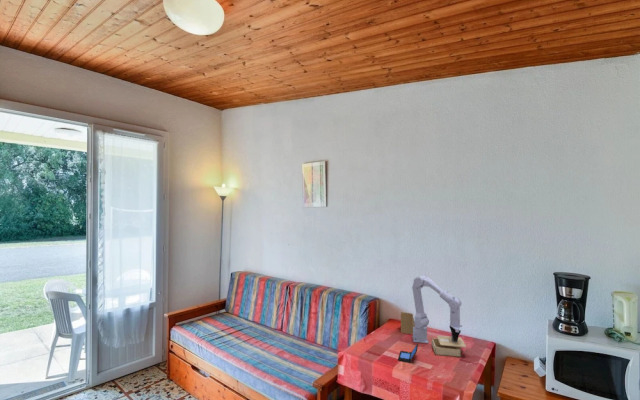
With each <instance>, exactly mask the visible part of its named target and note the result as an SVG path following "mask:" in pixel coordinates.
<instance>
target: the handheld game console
mask: <svg viewBox="0 0 640 400" xmlns="http://www.w3.org/2000/svg"><path fill="white" fill-rule="evenodd" d="M418 347H419V344H418V343H417V344H416V345H415V346H414V348H413V349H412V351H406V350H400V351H399V355H398V359H397V360H398V361H399V362H402V363H403V362H404V363H407V364H411V363H412V360H413V358H414V357H415V356H416V355H417V352H418Z"/></svg>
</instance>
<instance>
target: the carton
mask: <svg viewBox="0 0 640 400" xmlns="http://www.w3.org/2000/svg"><path fill="white" fill-rule="evenodd" d="M431 347H432V350H433V352H434V355H435V356H446V357H453V358H454V357H457V358H461V357H462V349H461V347H454V346H444V345H440V343H439V340H438V338H435V337H433V338H431Z"/></svg>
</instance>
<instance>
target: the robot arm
mask: <svg viewBox="0 0 640 400" xmlns="http://www.w3.org/2000/svg"><path fill="white" fill-rule="evenodd" d="M424 287H427V288H428V287H429V288H430V289H432V290H433V291H434V292H436V293H437V294H438V295H439V298H440V299H442V300H443V301H444V302H445V303H446V304H448V307H449V326H448V327H449V329H450V332H451V335H453V340H454V341H457V340H458V337H460V334H461V331H462V330H461V328H462V327H463V326H462V325H463V324H461V306H462V301H461V299H459V297H455V296H454V295H452V294H451V293H449V291H448V290H445V289H444V290H443V288H441V287H440V286H439V285H437V284H436V283H435V282H434V281H433V280H432V279H431V277H428V276H427V275H426V274H423V275H420V276H416V277H415V278H414V279H413V283H412V287H411V289H412V294H413V300H414V307H415V315H414V324H415V327H413V334H412V341H413V342H414V343H422V344H423V343H424V344H429V340H428V325H429V323H430V321H429V320H430V319H429V318H428V316H427V313H426V312H425V307H424V301H423V296H422V289H423V288H424Z"/></svg>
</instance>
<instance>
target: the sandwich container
mask: <svg viewBox="0 0 640 400" xmlns="http://www.w3.org/2000/svg"><path fill="white" fill-rule="evenodd" d="M414 321H415V318H414V314H413V313H411V312H406V311H405V312H403V311H402V312H400V333H401V334H402V333H403V334H407V335H408V334H409V335H413V327H416V326H415V324H414Z"/></svg>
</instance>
